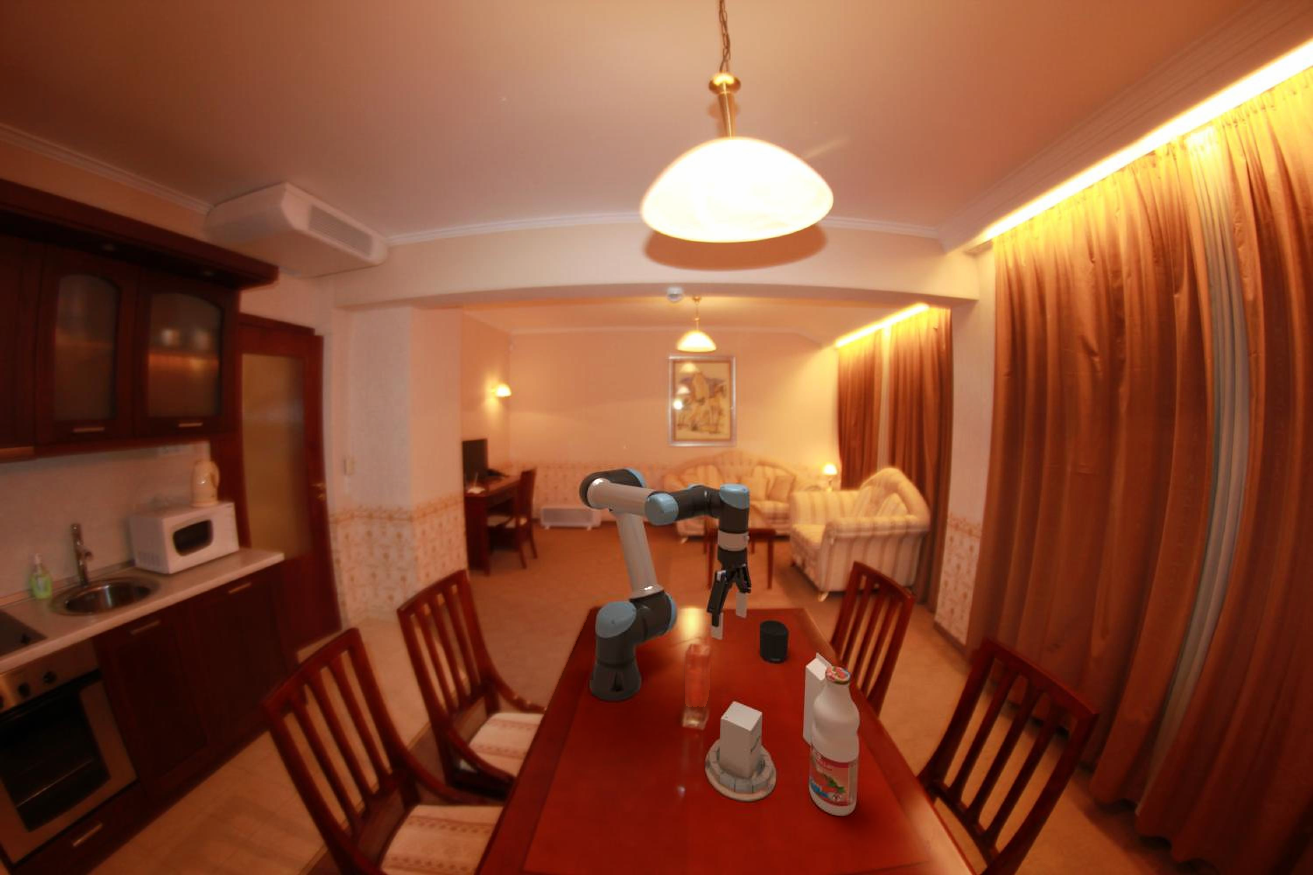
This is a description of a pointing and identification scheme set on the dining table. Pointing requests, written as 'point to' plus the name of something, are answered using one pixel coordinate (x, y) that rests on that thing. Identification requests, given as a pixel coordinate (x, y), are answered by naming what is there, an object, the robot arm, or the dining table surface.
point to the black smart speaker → (773, 641)
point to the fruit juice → (834, 746)
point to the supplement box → (740, 741)
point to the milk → (813, 691)
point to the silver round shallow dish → (741, 788)
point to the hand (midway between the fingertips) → (729, 626)
